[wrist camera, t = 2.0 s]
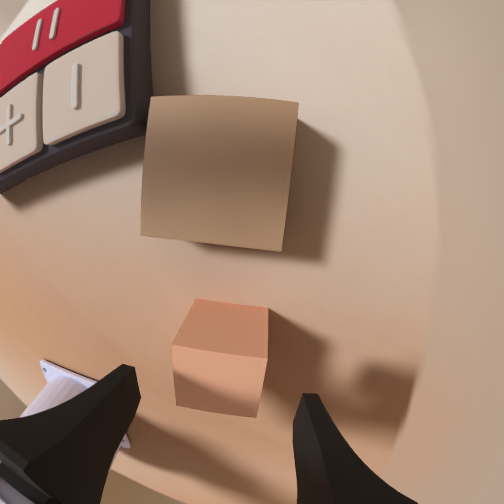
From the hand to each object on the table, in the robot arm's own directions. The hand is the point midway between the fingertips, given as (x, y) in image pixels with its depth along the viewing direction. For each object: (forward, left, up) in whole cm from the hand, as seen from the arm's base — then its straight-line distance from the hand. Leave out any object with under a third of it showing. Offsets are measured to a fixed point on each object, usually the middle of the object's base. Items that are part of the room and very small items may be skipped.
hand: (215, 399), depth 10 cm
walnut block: (+9, +1, -6) cm, 11 cm away
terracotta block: (0, 0, -5) cm, 5 cm away
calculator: (+14, +13, -6) cm, 20 cm away
